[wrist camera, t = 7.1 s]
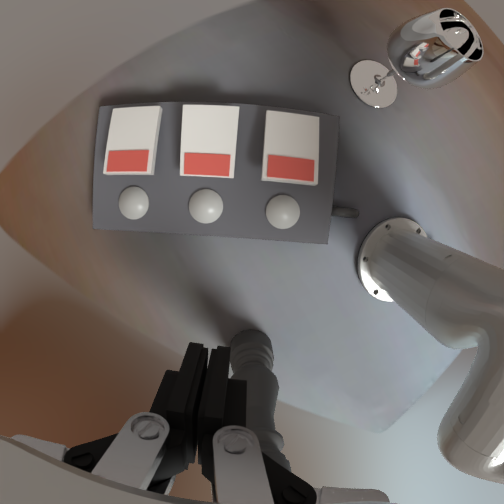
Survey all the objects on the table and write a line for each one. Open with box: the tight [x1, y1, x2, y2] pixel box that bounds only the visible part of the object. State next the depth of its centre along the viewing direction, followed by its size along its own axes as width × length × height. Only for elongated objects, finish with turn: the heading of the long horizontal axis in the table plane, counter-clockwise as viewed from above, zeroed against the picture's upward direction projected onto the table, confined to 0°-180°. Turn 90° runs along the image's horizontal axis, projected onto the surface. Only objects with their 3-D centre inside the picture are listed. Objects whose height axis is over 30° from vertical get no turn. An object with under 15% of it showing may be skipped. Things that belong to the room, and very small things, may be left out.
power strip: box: [93, 102, 359, 244], centre depth 34 cm, size 35×16×3 cm, turn 85°
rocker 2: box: [180, 105, 240, 178], centre depth 30 cm, size 6×8×1 cm
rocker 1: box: [103, 106, 162, 175], centre depth 29 cm, size 6×8×1 cm
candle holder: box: [230, 330, 291, 472], centre depth 30 cm, size 6×6×25 cm
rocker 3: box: [261, 110, 319, 186], centre depth 30 cm, size 6×8×1 cm
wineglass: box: [350, 8, 483, 108], centre depth 23 cm, size 8×8×20 cm
